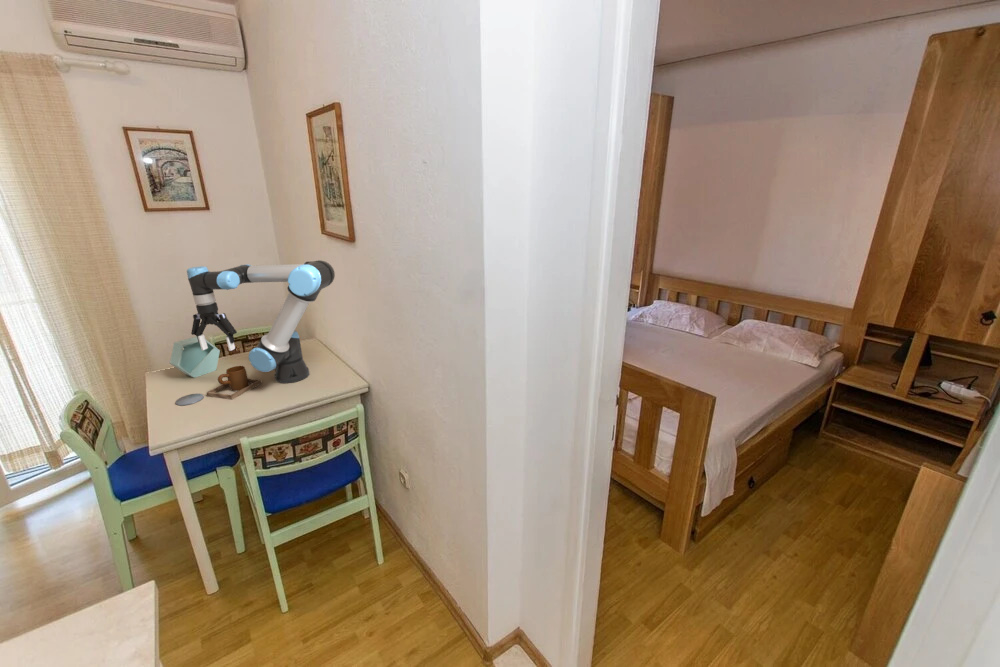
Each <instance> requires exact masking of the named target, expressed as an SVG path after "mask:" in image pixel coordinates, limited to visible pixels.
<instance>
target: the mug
mask: <svg viewBox="0 0 1000 667" xmlns="http://www.w3.org/2000/svg"><path fill="white" fill-rule="evenodd" d="M223 378H227V380H223ZM248 378H249V377H248V374H247V369H246V367H245V366H244V365H236V366H232V367H229V368H227V369H226V372H225V373H222V374H220V375H219V376H218V377H217V382H218V383H219V384H220V385H226V384H229V386H228V387H229V389H230V390H231V391H233V392H237V391H239V390H241V389H243V388H245V387H247V386H249V385H250V383H249V382H248Z"/></svg>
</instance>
